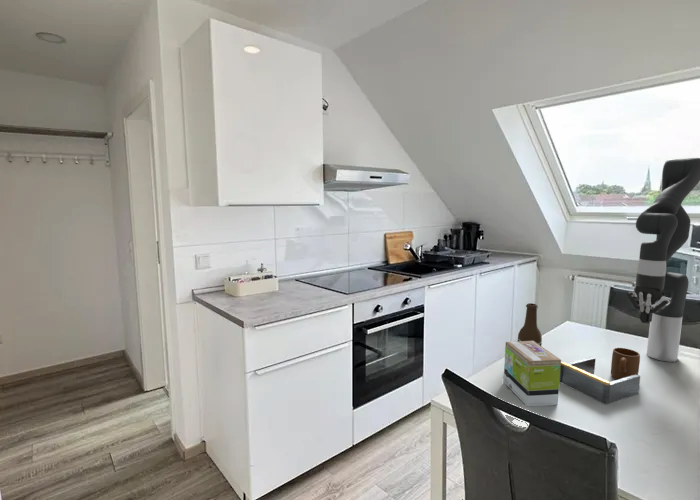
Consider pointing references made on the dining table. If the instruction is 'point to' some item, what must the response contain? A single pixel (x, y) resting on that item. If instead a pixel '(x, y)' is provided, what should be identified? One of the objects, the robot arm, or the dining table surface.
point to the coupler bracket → (597, 382)
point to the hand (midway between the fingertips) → (645, 322)
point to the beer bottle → (530, 326)
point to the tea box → (532, 373)
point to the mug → (624, 363)
